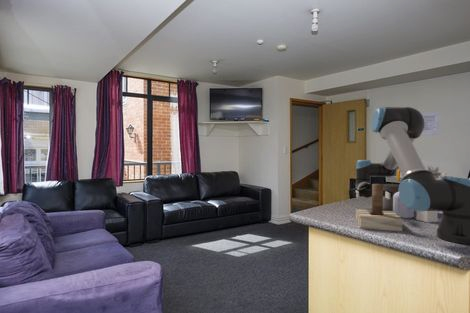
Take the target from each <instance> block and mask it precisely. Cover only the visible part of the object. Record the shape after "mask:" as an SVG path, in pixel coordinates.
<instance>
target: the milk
mask: <svg viewBox="0 0 470 313" xmlns="http://www.w3.org/2000/svg"><path fill="white" fill-rule="evenodd" d="M438 212H439V211H416V216H415V217H416V221H420V222H424V223H437V222H438Z"/></svg>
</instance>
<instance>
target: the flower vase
mask: <svg viewBox="0 0 470 313" xmlns="http://www.w3.org/2000/svg"><path fill="white" fill-rule="evenodd" d="M425 169H426V170H429V171H431V172H432V173H433V175H434V177H435V179H436V180H443V177H444V176H447V172H448V170H446V171H444V172H443V173H441V172H438V171H439V167H438V166H436V167H433V166H432V165H430V166H427V168H425ZM439 178H440V179H439Z"/></svg>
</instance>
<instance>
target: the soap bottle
mask: <svg viewBox="0 0 470 313" xmlns="http://www.w3.org/2000/svg"><path fill="white" fill-rule="evenodd" d="M400 176H401V172H400V170H399V169H398V170H397V172H396V176H395V177H396V181H397V182H400V183H401V179H400V178H401V177H400ZM393 212H394V213H396V214H397V215H398V216H399V217H401V218H402V219H412V218H413V217H414V212H415V210H410V209H408V208H406V207H405V206H404V205H403V203H402V202H401V200H400V197H399V192H397V193H395V194H394V195H393Z"/></svg>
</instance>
